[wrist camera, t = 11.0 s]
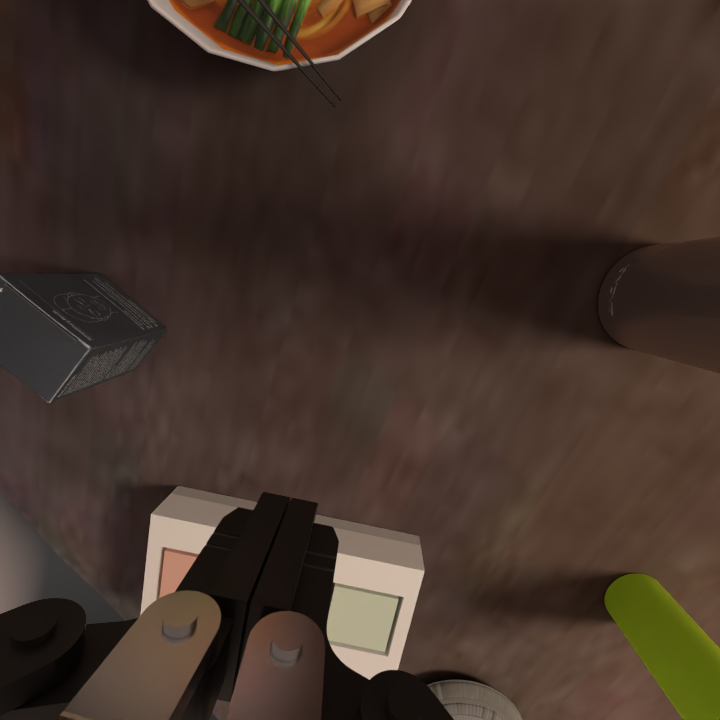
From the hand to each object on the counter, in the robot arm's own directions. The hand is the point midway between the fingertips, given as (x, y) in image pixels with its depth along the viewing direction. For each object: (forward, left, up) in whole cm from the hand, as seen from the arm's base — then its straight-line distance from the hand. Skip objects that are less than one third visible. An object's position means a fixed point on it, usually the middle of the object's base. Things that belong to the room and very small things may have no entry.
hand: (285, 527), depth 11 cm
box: (+22, +2, -27) cm, 35 cm away
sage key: (-6, +24, -25) cm, 35 cm away
